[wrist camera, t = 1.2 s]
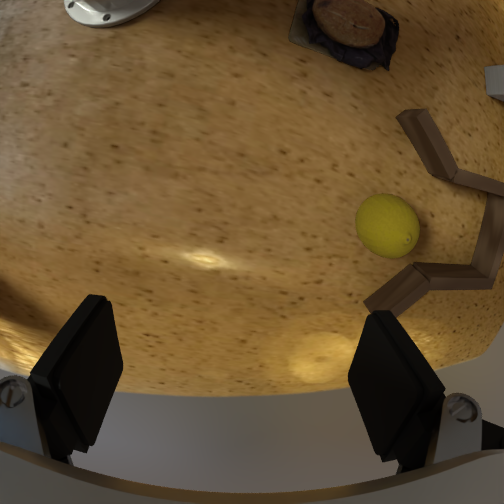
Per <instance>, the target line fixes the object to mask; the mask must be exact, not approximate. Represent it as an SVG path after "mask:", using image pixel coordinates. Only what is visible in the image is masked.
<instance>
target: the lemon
mask: <svg viewBox="0 0 504 504" xmlns="http://www.w3.org/2000/svg"><path fill="white" fill-rule="evenodd" d="M355 223H356V230H357V234H358V236H359V238H360V240H361V241H362V243H363V244H364V246H366V247H367V248H368V249H369V250H370V251H371V252H373V253H375V254H377V255H379V256H381V257H385V258H399V257H402V256H404V255H406V254H408V253H409V252H410V251H411V250H412V249H413V248H414V246H415V245H416V243H417V241H418V238H419V233H420V225H419V220H418V217H417V215H416V213H415V212H414V210H413V209H412V207H411V206H410V205H409V204H408V203H406V202H405V201H404V200H403V199H401V198H399V197H397V196H395V195H392V194H383V193H382V194H376V195H373V196H371V197H369V198H367V199H366V200H365V201H364V202H363V203H362V204H361V206H360V207H359V209H358V211H357V214H356V219H355Z"/></svg>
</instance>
